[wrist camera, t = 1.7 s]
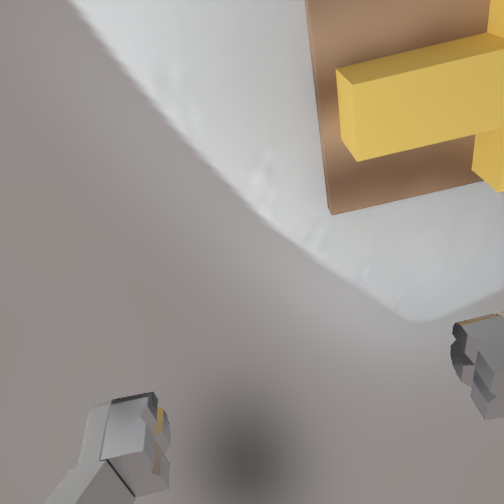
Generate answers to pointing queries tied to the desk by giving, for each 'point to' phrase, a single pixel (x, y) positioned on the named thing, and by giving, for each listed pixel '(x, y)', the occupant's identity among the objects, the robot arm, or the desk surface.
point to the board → (373, 47)
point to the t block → (430, 99)
